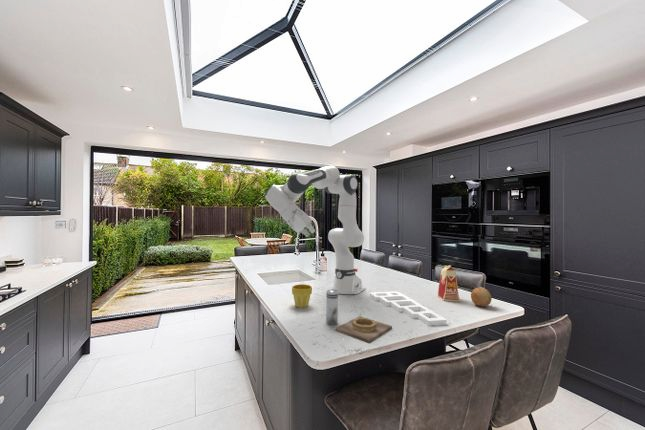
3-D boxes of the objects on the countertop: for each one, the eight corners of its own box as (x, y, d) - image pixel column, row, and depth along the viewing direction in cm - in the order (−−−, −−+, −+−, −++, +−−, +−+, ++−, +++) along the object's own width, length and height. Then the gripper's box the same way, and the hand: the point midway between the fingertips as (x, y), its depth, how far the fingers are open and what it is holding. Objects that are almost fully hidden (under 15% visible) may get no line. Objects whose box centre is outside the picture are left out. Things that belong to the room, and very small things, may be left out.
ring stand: (359, 318, 127) (360, 311, 127) (391, 328, 116) (392, 321, 116) (335, 330, 113) (335, 323, 113) (369, 342, 103) (369, 334, 103)
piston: (331, 319, 125) (331, 288, 125) (340, 322, 121) (340, 290, 121) (323, 322, 121) (324, 290, 121) (332, 326, 117) (333, 293, 117)
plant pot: (302, 310, 136) (302, 290, 136) (287, 305, 142) (287, 286, 142) (315, 305, 144) (316, 286, 144) (300, 301, 151) (301, 283, 151)
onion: (486, 310, 141) (487, 290, 141) (466, 305, 149) (467, 286, 149) (495, 307, 146) (495, 288, 146) (475, 302, 154) (475, 284, 154)
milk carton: (459, 301, 155) (460, 265, 155) (443, 301, 155) (443, 265, 155) (452, 296, 164) (453, 263, 164) (436, 296, 164) (437, 262, 164)
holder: (446, 325, 122) (446, 319, 122) (409, 328, 118) (409, 322, 118) (397, 295, 165) (397, 291, 165) (369, 297, 162) (369, 292, 162)
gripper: (300, 203, 124) (322, 225, 125) (292, 214, 143) (310, 233, 144) (291, 211, 122) (312, 234, 122) (283, 222, 141) (302, 241, 141)
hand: (311, 234), depth 133 cm, fingers open, 8 cm apart
